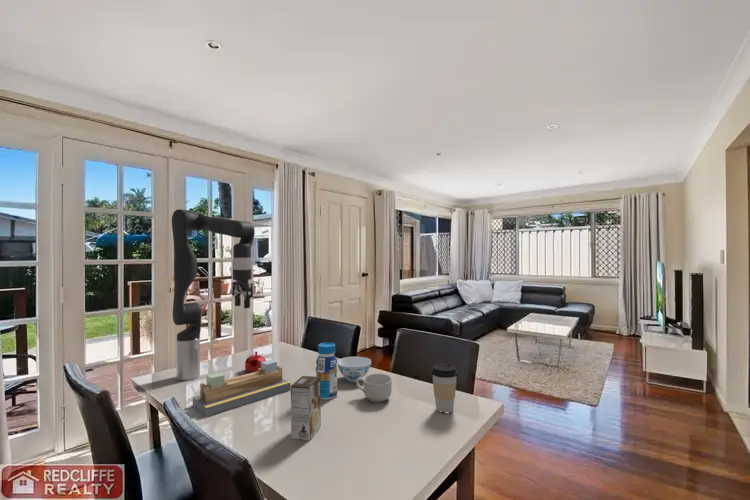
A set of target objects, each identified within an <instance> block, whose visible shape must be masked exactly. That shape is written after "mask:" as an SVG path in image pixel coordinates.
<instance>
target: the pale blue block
mask: <svg viewBox="0 0 750 500" xmlns="http://www.w3.org/2000/svg"><path fill="white" fill-rule="evenodd" d="M277 366H278V362H277V361H275V360H273V359H268V360H266V361H264V362H261V369H263V370H265V371H267V372H268V373H271V372H275V371H277Z"/></svg>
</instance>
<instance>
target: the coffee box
mask: <svg viewBox="0 0 750 500" xmlns="http://www.w3.org/2000/svg"><path fill="white" fill-rule="evenodd" d="M321 400H322V399H321V392H320V377H316V376H309V375H302V376H301V377H299V378H298V379H297V380H296V381H295V382H294V383H292V384H290V438H291V440H299V439H304V440H303V441H309V440H310V439H311V438H312V439H313V438H314V436H315V435H316V433H317V432H318V431H319V429H320V428H321V426H322V416H321V414H322V411H321V409H322V408H321V405H322V404H321V403H322V401H321ZM317 430H318V431H317ZM314 434H315V435H314ZM312 439H311V440H312ZM311 440H310V441H311Z"/></svg>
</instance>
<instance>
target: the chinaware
mask: <svg viewBox="0 0 750 500" xmlns="http://www.w3.org/2000/svg"><path fill="white" fill-rule="evenodd" d="M336 365H337V367H338V370H339V373H340V374H341V375H342V376H343V377H345V378H346V381H348V382H350V383H351V382H353V383H356V380H357V379H358V378H359V377H362V378H365V377H366V376H367V374H368V373H369V371H370V368H371V365H372V359H370V358H369V357H364V356H347V357H342V358H340V359H337V364H336ZM360 381H361V380H359V382H360Z"/></svg>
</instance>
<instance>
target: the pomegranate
mask: <svg viewBox="0 0 750 500" xmlns="http://www.w3.org/2000/svg"><path fill="white" fill-rule="evenodd" d="M263 355H265V353H261V354H258V351H254V353H253V354H249V355H248V356H247V358H246V360H245V361H244V362H245V363H244V364H245V365H244V370H245V371H246V372H247V373H253V372H257V371H258V369H259V368H261V362H264V361H267V360H266V359H265V357H264V356H263Z"/></svg>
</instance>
